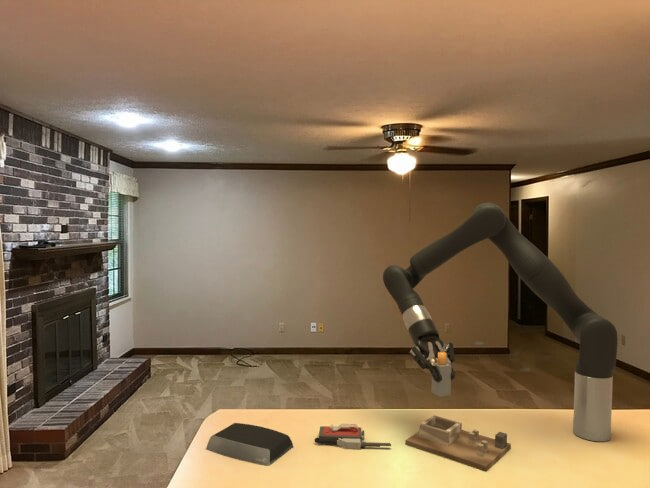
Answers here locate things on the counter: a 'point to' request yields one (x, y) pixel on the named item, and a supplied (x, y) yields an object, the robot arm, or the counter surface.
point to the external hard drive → (250, 443)
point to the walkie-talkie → (345, 437)
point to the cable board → (459, 443)
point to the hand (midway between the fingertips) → (446, 379)
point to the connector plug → (445, 370)
